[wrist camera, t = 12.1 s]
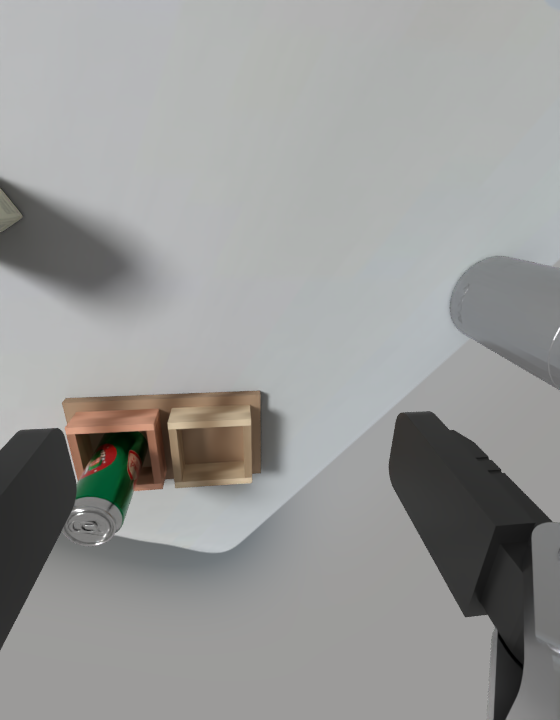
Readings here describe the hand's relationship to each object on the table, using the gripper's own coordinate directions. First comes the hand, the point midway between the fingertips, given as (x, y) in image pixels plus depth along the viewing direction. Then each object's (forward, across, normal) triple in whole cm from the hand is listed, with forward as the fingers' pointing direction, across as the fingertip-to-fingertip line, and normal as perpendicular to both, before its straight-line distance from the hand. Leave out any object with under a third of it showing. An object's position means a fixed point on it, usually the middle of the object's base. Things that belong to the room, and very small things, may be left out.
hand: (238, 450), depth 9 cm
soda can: (+29, +13, +20) cm, 38 cm away
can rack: (+30, +8, +20) cm, 37 cm away
